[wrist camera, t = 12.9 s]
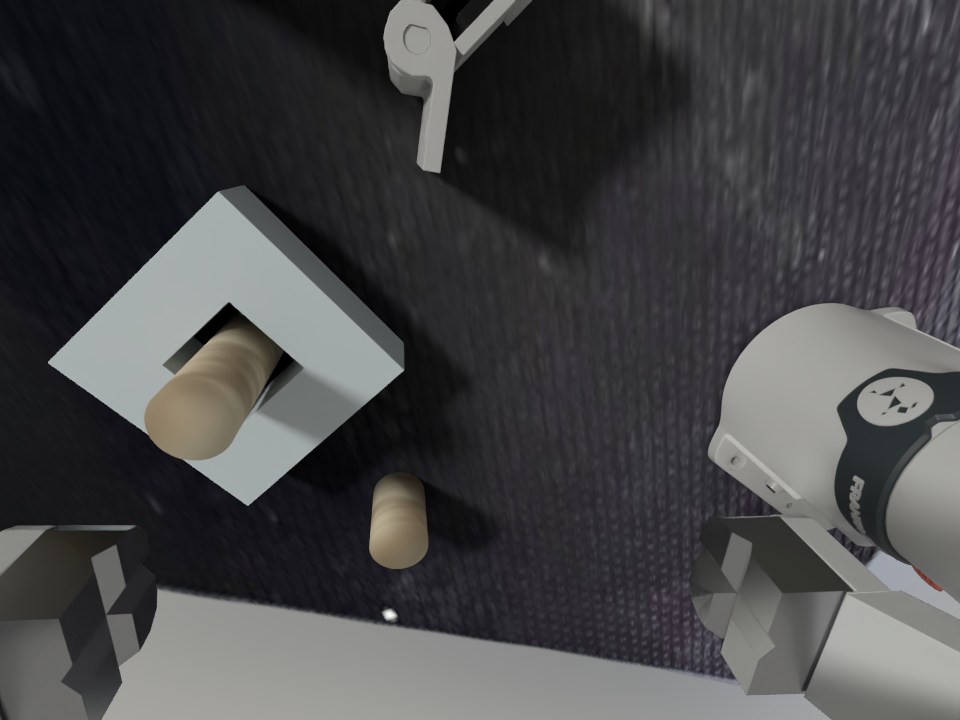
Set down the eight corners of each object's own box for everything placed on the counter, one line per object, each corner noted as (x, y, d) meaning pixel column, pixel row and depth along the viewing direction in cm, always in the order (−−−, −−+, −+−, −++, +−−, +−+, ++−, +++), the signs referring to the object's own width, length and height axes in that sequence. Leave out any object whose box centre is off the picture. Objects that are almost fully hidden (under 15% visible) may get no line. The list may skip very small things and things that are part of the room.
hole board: (403, 342, 37) (404, 370, 33) (265, 464, 39) (247, 505, 35) (244, 185, 32) (218, 191, 28) (94, 333, 34) (47, 362, 30)
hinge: (427, 171, 34) (436, 180, 24) (351, 117, 32) (329, 105, 23) (558, -42, 30) (626, -126, 21) (481, -115, 29) (519, -240, 19)
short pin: (434, 493, 43) (440, 544, 37) (398, 522, 43) (398, 577, 38) (400, 463, 41) (399, 511, 36) (362, 494, 42) (357, 547, 36)
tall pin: (299, 340, 36) (254, 424, 25) (258, 376, 37) (197, 475, 26) (252, 298, 35) (183, 368, 24) (211, 337, 35) (125, 423, 24)
